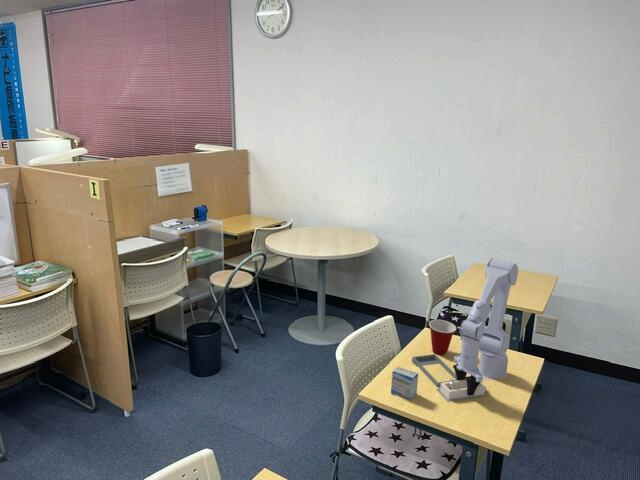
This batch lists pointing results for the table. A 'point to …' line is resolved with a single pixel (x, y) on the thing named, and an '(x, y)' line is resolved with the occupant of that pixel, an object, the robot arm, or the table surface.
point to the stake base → (452, 387)
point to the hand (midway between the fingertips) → (465, 389)
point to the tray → (431, 360)
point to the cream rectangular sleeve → (460, 389)
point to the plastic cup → (441, 335)
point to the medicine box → (404, 383)
